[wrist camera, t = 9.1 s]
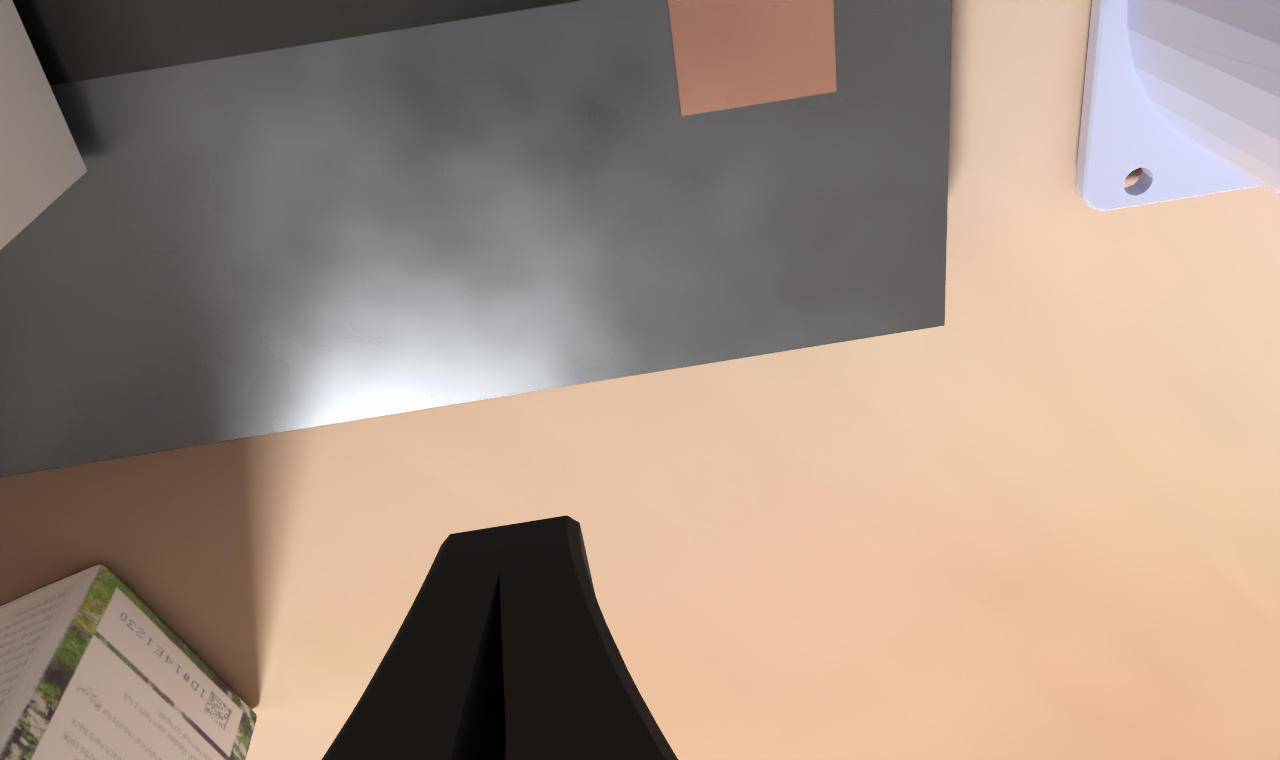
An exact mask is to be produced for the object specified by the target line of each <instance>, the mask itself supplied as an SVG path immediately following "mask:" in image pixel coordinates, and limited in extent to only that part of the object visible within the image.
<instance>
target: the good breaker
mask: <svg viewBox="0 0 1280 760" xmlns="http://www.w3.org/2000/svg"><path fill="white" fill-rule="evenodd" d="M85 172H87V169H86V167H85V164H84V162H83V160H82V158H81V155H80V153H79V151H78V149H77V146H76V144H75V142H74V139H73V137H72V135H71V133H70V130H69V128H68V126H67V124H66V121H65V119H64V117H63V114H62V112H61V110H60V108H59V105H58V103H57V101H56V99H55V96H54V94H53V92H52V89H51V87H50V85H49V83H48V80H47V78H46V76H45V73H44V71H43V69H42V67H41V64H40V62H39V60H38V58H37V55H36V53H35V51H34V48H33V46H32V44H31V42H30V39H29V37H28V35H27V33H26V30H25V28H24V26H23V23H22V21H21V19H20V17H19V14H18V12H17V10H16V8H15V5H14V3H13V1H12V0H0V250H1V249H2V248H3V247H4V246H5V245H7V244H8V243H9V242H10V241H11V240H12V239H13V238H14V237H15V236H16V235H18V234H19V233H20V232H21V231H22V230H23V229H24V228H25V227H26V226H27V225H28V224H30V223H31V222H32V221H33V220H34V219H35V218H36V217H37V216H38V215H39V214H41V213H42V212H43V211H44V210H45V209H46V208H47V207H48V206H49V205H50V204H51V203H53V202H54V201H55V200H56V199H57V198H58V197H59V196H60V195H61V194H62V193H64V192H65V191H66V190H67V189H68V188H69V187H70V186H71V185H72V184H73V183H74V182H76V181H77V180H78V179H79V178H80V177H81V176H82V175H83V174H84V173H85Z"/></svg>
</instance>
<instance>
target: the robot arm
mask: <svg viewBox="0 0 1280 760" xmlns="http://www.w3.org/2000/svg"><path fill="white" fill-rule="evenodd" d="M1138 168H1142V173H1141V176H1140V178H1139V180H1138V181H1137V182H1136V183H1135V184H1134V185H1132V186H1129V187H1127V188H1124V182H1125V179H1126V177H1127V176H1128V175H1129V174H1130V173H1131V172H1132V171H1133V170H1135V169H1138ZM1075 186H1076V193H1077V195H1078V196H1079V198H1080V199H1081V200H1082V201H1083V202H1084V203H1085V204H1087V205H1088V206H1089V207H1091V208H1093V209H1095V210H1100V211H1108V210H1114V209H1121V208H1127V207H1133V206H1139V205H1145V204H1152V203H1158V202H1164V201H1170V200H1177V199H1183V198H1189V197H1195V196H1202V195H1208V194H1214V193H1220V192H1226V191H1233V190H1239V189H1245V188H1251V187H1258V186H1266V187H1267V188H1269V189H1271V190H1272V191H1274V192H1276V193H1278V194H1279V195H1280V0H1092V8H1091V19H1090V30H1089V40H1088V51H1087V62H1086V73H1085V84H1084V94H1083V105H1082V116H1081V127H1080V138H1079V148H1078V159H1077V170H1076V181H1075ZM322 760H678V759H677V757H676V755H675V754H674V752H673V750H672V749H671V747H670V745H669V744H668V742H667V740H666V739H665V737H664V735H663V734H662V732H661V730H660V729H659V727H658V725H657V723H656V721H655V720H654V718H653V716H652V714H651V713H650V711H649V709H648V707H647V705H646V704H645V702H644V700H643V698H642V696H641V695H640V693H639V691H638V689H637V687H636V685H635V683H634V681H633V679H632V677H631V675H630V673H629V671H628V670H627V667H626V665H625V663H624V661H623V659H622V657H621V655H620V652H619V650H618V648H617V646H616V644H615V642H614V639H613V637H612V635H611V633H610V631H609V629H608V627H607V624H606V622H605V620H604V617H603V615H602V612H601V610H600V607H599V605H598V602H597V599H596V596H595V592H594V588H593V583H592V578H591V574H590V569H589V565H588V560H587V555H586V551H585V546H584V541H583V537H582V532H581V527H580V523H579V522H577V521H575V520H574V519H572V518H570V517H569V516H561V517H555V518H548V519H542V520H536V521H530V522H524V523H517V524H511V525H505V526H499V527H492V528H486V529H480V530H474V531H468V532H461V533H455V534H450V535H449V536H448V538H447V539H446V540H445V541H444V542H443V544H442V545H441V547H440V549H439V552H438V554H437V556H436V558H435V560H434V562H433V564H432V566H431V568H430V570H429V572H428V575H427V577H426V579H425V581H424V583H423V585H422V587H421V589H420V591H419V593H418V595H417V597H416V599H415V601H414V603H413V605H412V607H411V608H410V610H409V612H408V614H407V616H406V618H405V620H404V622H403V624H402V626H401V627H400V629H399V631H398V633H397V635H396V637H395V639H394V641H393V642H392V644H391V646H390V648H389V649H388V651H387V653H386V655H385V656H384V658H383V660H382V662H381V663H380V665H379V667H378V669H377V670H376V672H375V674H374V676H373V677H372V679H371V681H370V683H369V685H368V686H367V688H366V690H365V692H364V693H363V695H362V697H361V698H360V700H359V702H358V703H357V705H356V707H355V708H354V710H353V712H352V713H351V715H350V716H349V718H348V720H347V721H346V723H345V724H344V726H343V727H342V729H341V731H340V732H339V734H338V735H337V737H336V738H335V740H334V741H333V743H332V745H331V746H330V748H329V749H328V751H327V752H326V754H325V755H324V757H323V759H322Z"/></svg>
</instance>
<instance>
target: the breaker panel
mask: <svg viewBox="0 0 1280 760" xmlns="http://www.w3.org/2000/svg"><path fill="white" fill-rule="evenodd" d="M12 1H13V3H14V5H15V8H16V10H17V12H18V14H19V17H20V19H21V21H22V23H23V26H24V28H25V30H26V33H27V35H28V37H29V39H30V42H31V44H32V46H33V48H34V51H35V53H36V55H37V58H38V60H39V62H40V64H41V67H42V69H43V71H44V73H45V76H46V78H47V80H48V83H49V85H50V87H51V89H52V92H53V94H54V96H55V99H56V101H57V103H58V105H59V108H60V110H61V112H62V114H63V117H64V119H65V121H66V124H67V126H68V128H69V130H70V133H71V135H72V137H73V139H74V142H75V144H76V146H77V149H78V151H79V153H80V155H81V158H82V160H83V162H84V164H85V167H86V169H87V172H85V173H84V174H83V175H82V176H81V177H80V178H79V179H78V180H77V181H76V182H74V183H73V184H72V185H71V186H70V187H69V188H68V189H67V190H66V191H65V192H64V193H62V194H61V195H60V196H59V197H58V198H57V199H56V200H55V201H54V202H53V203H51V204H50V205H49V206H48V207H47V208H46V209H45V210H44V211H43V212H42V213H41V214H39V215H38V216H37V217H36V218H35V219H34V220H33V221H32V222H31V223H30V224H28V225H27V226H26V227H25V228H24V229H23V230H22V231H21V232H20V233H19V234H18V235H16V236H15V237H14V238H13V239H12V240H11V241H10V242H9V243H8V244H7V245H5V246H4V247H3V248H2V249H1V250H0V477H4V476H10V475H16V474H22V473H28V472H35V471H41V470H47V469H53V468H60V467H66V466H72V465H78V464H84V463H91V462H97V461H103V460H109V459H116V458H122V457H128V456H134V455H140V454H147V453H153V452H159V451H165V450H172V449H178V448H184V447H190V446H197V445H203V444H209V443H215V442H221V441H228V440H234V439H240V438H246V437H253V436H259V435H265V434H271V433H277V432H284V431H290V430H296V429H302V428H309V427H315V426H321V425H327V424H333V423H340V422H346V421H352V420H358V419H365V418H371V417H377V416H383V415H389V414H396V413H402V412H408V411H414V410H421V409H427V408H433V407H439V406H445V405H452V404H458V403H464V402H470V401H477V400H483V399H489V398H495V397H502V396H508V395H514V394H520V393H526V392H533V391H539V390H545V389H551V388H558V387H564V386H570V385H576V384H582V383H589V382H595V381H601V380H607V379H614V378H620V377H626V376H632V375H638V374H645V373H651V372H657V371H663V370H670V369H676V368H682V367H688V366H694V365H701V364H707V363H713V362H719V361H726V360H732V359H738V358H744V357H751V356H757V355H763V354H769V353H775V352H782V351H788V350H794V349H800V348H807V347H813V346H819V345H825V344H831V343H838V342H844V341H850V340H856V339H863V338H869V337H875V336H881V335H887V334H894V333H900V332H906V331H912V330H919V329H925V328H931V327H937V326H943V325H944V323H945V280H946V238H947V195H948V153H949V110H950V68H951V26H952V0H12Z"/></svg>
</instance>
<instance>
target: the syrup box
mask: <svg viewBox="0 0 1280 760" xmlns="http://www.w3.org/2000/svg"><path fill="white" fill-rule="evenodd" d="M255 723H256V714H255V713H254V712H253V711H252V710H251V709H250V708H249V706H248V705H246V704H245V703H244V702H243V701H242V700H241V698H240V697H239V696H238V695H237V694H236V693H235V692H234V691H233V690H231V689H230V688H229V687H228V686H227V685H226V684H225V683H224V682H223V681H222V680H221V679H220V678H219V677H218V676H217V675H216V674H215V673H214V672H213V671H212V670H211V669H210V668H209V667H207V666H206V665H205V664H204V662H203V661H202V660H200V659H199V657H198V656H197V655H195V654H194V653H193V652H192V651H191V650H190V649H189V648H188V647H187V646H186V645H185V644H184V643H183V642H182V641H181V640H180V639H179V638H178V636H176V635H175V634H174V633H173V632H172V631H171V630H170V629H169V628H168V627H167V626H166V625H165V624H164V623H163V622H162V621H161V620H160V619H159V618H158V617H157V616H156V615H155V614H154V613H153V612H152V611H151V610H150V609H149V608H148V607H147V606H146V605H145V604H144V603H143V602H142V601H141V600H140V599H139V598H138V597H137V596H136V595H135V594H134V593H133V592H132V591H131V590H130V589H129V588H128V587H127V586H126V585H125V584H124V583H123V582H122V581H120V580H119V579H118V577H117V576H115V575H114V574H113V573H112V572H110V570H109V569H108V568H107V567H105V566H103V565H96V566H93V567H90V568H88V569H86V570H83V571H81V572H79V573H77V574H74V575H71V576H68V577H66V578H64V579H62V580H59V581H57V582H55V583H52V584H49V585H47V586H45V587H43V588H40V589H38V590H36V591H33V592H31V593H29V594H27V595H25V596H23V597H20V598H18V599H16V600H14V601H12V602H9V603H7V604H5V605H3V606H1V607H0V760H245V759H246V755H247V752H248V749H249V745H250V741H251V736H252V734H253V730H254V727H255Z"/></svg>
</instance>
